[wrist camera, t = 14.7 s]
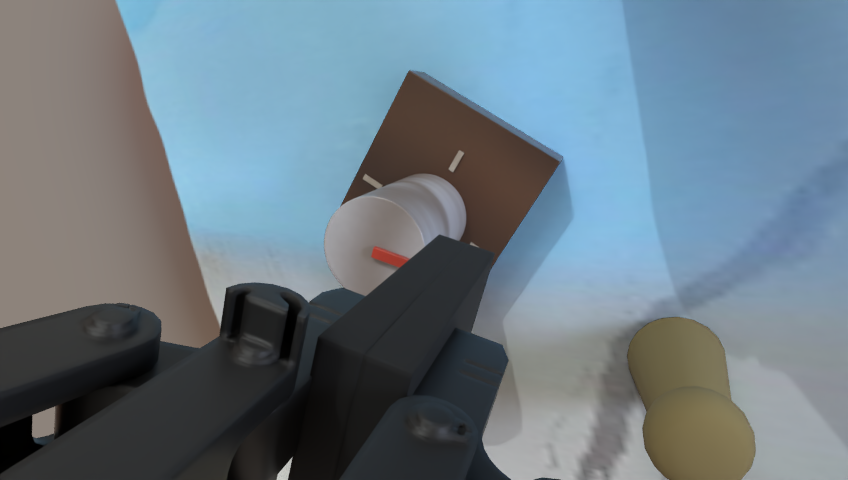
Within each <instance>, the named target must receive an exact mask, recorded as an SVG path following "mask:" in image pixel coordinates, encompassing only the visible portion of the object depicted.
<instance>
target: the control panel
mask: <svg viewBox="0 0 848 480" xmlns="http://www.w3.org/2000/svg"><path fill="white" fill-rule="evenodd" d="M562 159H563V156H561V155H559V154H558V153H556V152H554V151H553V150H551V149H549V148H548V147H546V146H544V145H543V144H541V143H539V142H538V141H536V140H535V139H533V138H531V137H530V136H528V135H526V134H525V133H523V132H521V131H520V130H518V129H516V128H515V127H513V126H511V125H510V124H508V123H507V122H505V121H503V120H502V119H500V118H498V117H497V116H495V115H493V114H492V113H490V112H488V111H487V110H485V109H483V108H482V107H480V106H478V105H477V104H475V103H474V102H472V101H470V100H469V99H467V98H465V97H464V96H462V95H460V94H459V93H457V92H455V91H454V90H452V89H450V88H449V87H447V86H445V85H444V84H442V83H441V82H439V81H437V80H436V79H434V78H432V77H431V76H429V75H427V74H426V73H424V72H418V71H410V70H409V71H408V73H407V75H406V77H405V79H404V81H403V83H402V85H401V87H400V89H399V91H398V93H397V95H396V97H395V99H394V101H393V103H392V105H391V107H390V109H389V111H388V113H387V115H386V117H385V119H384V121H383V123H382V125H381V127H380V129H379V131H378V133H377V135H376V137H375V139H374V141H373V143H372V145H371V147H370V149H369V151H368V153H367V155H366V157H365V158H364V160H363V162H362V164H361V166H360V168H359V170H358V172H357V174H356V176H355V178H354V180H353V182H352V184H351V186H350V188H349V190H348V192H347V194H346V196H345V198H344V200H343V202H342V204H341V206H342V205H343V204H345V203H346V202H348V201H350V200H352V199H354V198H357V197H359V196H362V195H364V194H367V193H369V192H371V191H374V190H376V189H379V188H381V187H384V186H386V185H389V184H391V183H393V182H396V181H398V180H401V179H403V178H406V177H408V176H411V175H414V174H424V173H425V174H432V175H436V176H438V177H441V178H443V179H444V180H446V181H448V182H449V183H450V184H451V185H452V186H453V187H454V188H455V189H456V190H457V191H458V193H459V194H460V196H461V198H462V200H463V202H464V206H465V210H466V226H465V230H464V233H463V235H462V237H461V239H460V240H459V241H461V242H464V243H467V244H470V245H473V246H476V247H479V248H482V249H485V250H488V251H491V252H494V253H495V256H494V259H493V262H492V266H493V265H494V263H495V262H496V260H497V259H498V257H499V256H500V254H501V252H502V251H503V249H504V248H505V246H506V245H507V243H508V242H509V240H510V239H511V237H512V236H513V234H514V233H515V231H516V229H517V228H518V226H519V225H520V223H521V222H522V220H523V219H524V217H525V216H526V214H527V213H528V211H529V210H530V208H531V206H532V205H533V203H534V202H535V200H536V199H537V197H538V196H539V194H540V193H541V191H542V190H543V188H544V187H545V185H546V183H547V182H548V180H549V179H550V177H551V176H552V174H553V173H554V171H555V170H556V168H557V167H558V165H559V164H560V162H561V160H562ZM341 206H340V207H341ZM492 266H491V268H492Z"/></svg>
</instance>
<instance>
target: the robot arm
mask: <svg viewBox="0 0 848 480" xmlns="http://www.w3.org/2000/svg"><path fill="white" fill-rule="evenodd" d="M494 256H495V253H494V252H491V251H488V250H485V249H482V248H479V247H476V246H473V245H470V244H467V243H464V242H461V241H458V240H455V239H452V238H449V237H446V236H443V235H440V234H439V235H438V236H437V237H436V238H434V239H433V240H432V241H431V242H430V243H428V244H427V245H426V246H425V247H424V248H423V249H421V250H420V251H419V252H418V253H417V254H415V255H414V256H413V257H412V258H411V259H409V260H408V261H407V262H406V263H405V264H404V265H402V266H401V267H400V268H399V269H398V270H396V271H395V272H394V273H393V274H392V275H390V276H389V277H388V278H387V279H386V280H385V281H383V282H382V283H381V284H380V285H379V286H377V287H376V288H375V289H374V290H373V291H371V292H370V293H369V294H368V295H367V296H364V295H361V294H359V293H356V292H353V291H351V290H348V289H345V288H339V289H335V290H330V291H326V292H322V293H321V294H320V295H318V296H317V297H315V298H314V299H312V300H311V301H310V302H309V303H308V302H307V301H306V300H305V299H304V298H303V297H302V296H301V295H300V294H298V293H296V292H294V291H292V290H290V289H288V288H284V287H281V286H277V285H273V284H265V283H244V284H237V285H234V286H231V287H228V288H226V294H225V301H224V308H223V315H222V322H221V329H220V336H219V337H217V338H216V339H214V340H213V341H211V342H209V343H208V344H206V345H205V346H203V347H201V348H193V347H189V346H183V345H177V344H172V343H167V342H162V341H160V337H161V320H160V319H159V318H158V317H157V316H156V315H155V314H154V313H153V312H151V311H148V310H146V309H144V308H142V307H138V306H135V305H129V304H124V303H117V304H99V305H93V306H86V307H83V308H78V309H75V310H71V311H67V312H63V313H59V314H55V315H51V316H47V317H43V318H39V319H35V320H31V321H27V322H23V323H20V324H15V325H11V326H8V327H4V328H0V480H276V479H277V474H278V473H279V472H280V471H281V470H282V468H283V467H284V466H285V465H286V464H287V463H288V461H289V460H290V459H291V458H292V457H293V459H292V463H291V468H290V473H289V478H288V480H511V479H510V478H508V477H507V476H506V475H505V474H504V473H502V472H501V471H500V470H499V469H498V468H497V467H496V466H495V465H494V464H493V462H492V461H491V460H490V459H489V457H488V455H487V453H486V451H485V450H484V446H483V442H482V436H483V433H484V431H485V428H486V425H487V422H488V419H489V416H490V413H491V410H492V407H493V404H494V401H495V398H496V395H497V392H498V389H499V386H500V383H501V381H502V378H503V375H504V372H505V369H506V366H507V363H508V358H507V356H506V353H505V350H504V348H503V345H501V344H498V343H496V342H493V341H490V340H488V339H485V338H482V337H479V336H477V335H474V334H471V331H472V327H473V324H474V321H475V318H476V314H477V311H478V308H479V305H480V301H481V298H482V295H483V292H484V288H485V285H486V282H487V279H488V275H489V272H490V269H491V266H492V262H493V259H494ZM54 406H55V427H54V434H51V435H49V436H45V437H40V438H34V437H32V415H33V414H36V413H39V412H41V411H44V410H46V409H49V408H52V407H54ZM535 480H559V479H550V478H539V479H535Z"/></svg>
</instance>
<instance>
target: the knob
mask: <svg viewBox="0 0 848 480" xmlns="http://www.w3.org/2000/svg"><path fill="white" fill-rule="evenodd" d="M465 226H466V210H465V206H464V202H463V200H462V198H461V196H460V194H459V193H458V191H457V190H456V189H455V188H454V187H453V186H452V185H451V184H450V183H449V182H448V181H446V180H444V179H443V178H441V177H438V176H436V175H432V174H425V173H424V174H414V175H411V176H408V177H406V178H403V179H401V180H398V181H396V182H393V183H391V184H389V185H386V186H384V187H381V188H379V189H376V190H374V191H371V192H369V193H367V194H364V195H362V196H359V197H357V198H354V199H352V200H350V201H348V202H346V203H345V204H343V205H342V206H341V207H340V208H338V209H337V210H336V212H335V213H334V214H333V216H332V217H331V219H330V221H329V223H328V225H327V228H326V232H325V238H324V249H325V255H326V260H327V263H328V265H329V268H330V270H331V272H332V273H333V275H334V276H335V278H336V279H337V280H338V282H339V283H340V284H341V285H342V286H343V287H344V288H345V289H348V290H351V291H353V292H356V293H359V294H361V295H364V296H367V295H368V294H369V293H370V292H371V291H373V290H374V289H375V288H376V287H377V286H379V285H380V284H381V283H382V282H383V281H385V280H386V279H387V278H388V277H389V276H390V275H392V274H393V273H394V272H395V271H396V270H398V269H399V268H400V267H401V266H402V265H404V264H405V263H406V262H407V261H408V260H409V259H411V258H412V257H413V256H414V255H415V254H417V253H418V252H419V251H420V250H421V249H423V248H424V247H425V246H426V245H427V244H428V243H430V242H431V241H432V240H433V239H434V238H436V237H437V236H438V235H439V234H440V235H443V236H446V237H449V238H452V239H455V240H458V241H459V240H460V239H461V237H462V235H463V233H464V230H465Z"/></svg>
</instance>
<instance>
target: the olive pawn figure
mask: <svg viewBox="0 0 848 480" xmlns="http://www.w3.org/2000/svg"><path fill="white" fill-rule="evenodd" d="M627 358H628V365H629V370H630V372H631V375H632V377H633V379H634V382H635V384H636V387H637V389H638V392H639V394H640V396H641V399H642V401H643V404H644V406H645V409H646V411H647V413H646V416H645V420H644V424H643V438H644V445H645V449H646V451H647V453H648V455H649V457H650V459H651V461H652V463H653V464H654V466H655V467H656V468H657V469H658V470H659V471H660V472H661V473H662V474H663V475H664V476H665V477H666V478H667V479H669V480H741V479H742V478H743V477H744V475H745V474H746V473H747V472H748V471H749V469H750V468H751V466H752V463H753V460H754V457H755V449H756V448H755V437H754V432H753V430H752V428H751V426H750V424H749V422H748V420H747V418H746V416H745V414H744V412H743V411H741V410H740V409H739V408H738V407H737V406H736V405H735V404H734V403H733V402H732V401H731V394H730V387H729V380H728V372H727V365H726V358H725V350H724V348H723V346H722V344H721V342H720V340H719V338H718V337H717V336H716V335H715V334H714V333H713V332H712V331H711V330H710V329H709V328H708V327H706V326H704V325H702V324H700V323H698V322H696V321H694V320H690V319H685V318H680V317H672V318H662V319H659V320H656V321H654V322H651V323H648V324H647V325H646V326H644V327H643V328H642V329H641V330H639V331H638V332H637V333H636V335H635V336H634V338H633V339H632V341H631V342H630V345H629V350H628V354H627Z"/></svg>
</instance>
